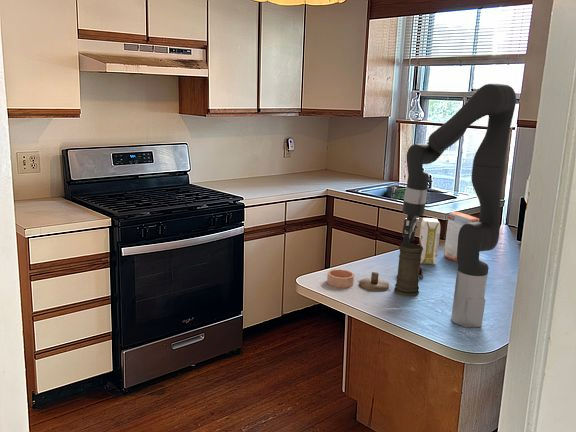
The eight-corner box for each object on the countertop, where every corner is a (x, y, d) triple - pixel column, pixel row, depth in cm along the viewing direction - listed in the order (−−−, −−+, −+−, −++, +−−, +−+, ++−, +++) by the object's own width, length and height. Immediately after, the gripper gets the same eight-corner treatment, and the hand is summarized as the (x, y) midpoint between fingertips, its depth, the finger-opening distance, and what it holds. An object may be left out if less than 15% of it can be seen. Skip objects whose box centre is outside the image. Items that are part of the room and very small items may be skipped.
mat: (390, 291, 197) (390, 290, 197) (367, 292, 195) (367, 291, 195) (379, 281, 208) (379, 280, 207) (357, 281, 206) (357, 280, 206)
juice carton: (433, 259, 238) (438, 218, 234) (436, 265, 230) (442, 222, 226) (416, 258, 239) (421, 217, 235) (419, 264, 231) (423, 221, 226)
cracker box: (474, 264, 234) (480, 218, 229) (463, 265, 232) (469, 219, 227) (453, 255, 246) (459, 211, 242) (443, 256, 244) (448, 211, 239)
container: (400, 298, 192) (406, 250, 187) (389, 288, 200) (394, 242, 196) (423, 296, 194) (428, 249, 190) (411, 287, 202) (416, 242, 198)
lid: (393, 290, 197) (394, 277, 196) (365, 291, 195) (366, 278, 194) (382, 280, 208) (383, 267, 207) (355, 280, 205) (356, 268, 204)
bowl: (356, 288, 199) (357, 277, 198) (331, 288, 197) (332, 278, 196) (348, 278, 208) (349, 269, 207) (324, 279, 206) (324, 269, 205)
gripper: (421, 206, 179) (414, 251, 184) (429, 198, 192) (422, 241, 196) (399, 202, 182) (392, 247, 187) (408, 194, 195) (402, 236, 199)
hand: (407, 244), depth 192 cm, fingers open, 8 cm apart
